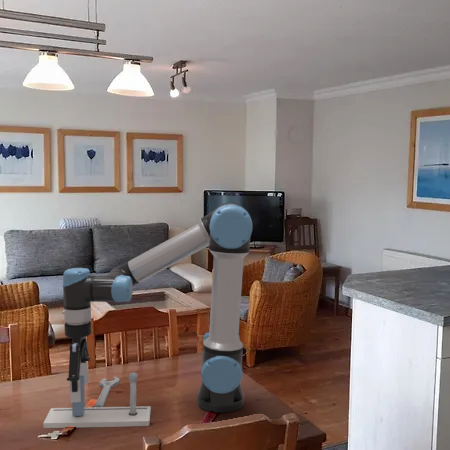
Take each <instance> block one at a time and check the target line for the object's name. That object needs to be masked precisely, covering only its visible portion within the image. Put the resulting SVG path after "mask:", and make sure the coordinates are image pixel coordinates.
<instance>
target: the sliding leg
mask: <svg viewBox="0 0 450 450" xmlns="http://www.w3.org/2000/svg"><path fill="white" fill-rule="evenodd" d="M79 379H80V391H81V402H71V406H72V407H71V408H72V416H83V414H84V411H85V408H86V407H85V402H86V401H85V384H84V376H79Z"/></svg>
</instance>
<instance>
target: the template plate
mask: <svg viewBox="0 0 450 450" xmlns="http://www.w3.org/2000/svg"><path fill="white" fill-rule="evenodd" d="M138 378H139V376H138V373H137V372H133V371H132V372H130V373H129V375H128V381H129V393H130V394H129V406H104V407H90V406H89V407H87V406H86V407H85V411H84V414H83V416H72V407H51V408H50V410H49V411H48V413H47V416H46V418H45V419H44V421H43V423H42V424H43V425H42V426H43V427H42V428H43V429H63V428H64V429H66V428H65V427H68V426H69V427H70V426H74V427H76V428H115V427H116V428H117V427H118V428H119V427H150V422H151V412H152V410H151V409H152V408H151V407H152V406H151V405H149V406H146V405H145V406H141V405H140V406H137V381H138Z"/></svg>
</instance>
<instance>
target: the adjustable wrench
mask: <svg viewBox="0 0 450 450" xmlns="http://www.w3.org/2000/svg"><path fill="white" fill-rule="evenodd" d="M119 384H120V378H119V377H117V376H113V379H112V380H107V378H106V377H103V378H102V379H101V380H100V381H99V382H98V386H99V387H101V388H102V390H101V392H100V393H99V395H98V398H97V400H96V401H95V404H94V407H105V405H106V402H107V400H108V397H109V394H110V392H111V390H112V389H113V388H114V387H116V386H118V385H119Z"/></svg>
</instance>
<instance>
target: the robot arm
mask: <svg viewBox="0 0 450 450" xmlns="http://www.w3.org/2000/svg"><path fill="white" fill-rule="evenodd" d="M253 228H254V226H253V221H252V218H251V215H250V213H249V212H248V210H246V208H244V207H243V206H242V205H241V204H239V203H236V202H224V203H222V204H219V205H218V207H216V208H215V209H214V210H212V211H211V212H210V213H208V214H206V215H205V216H203V217H201V218H200V219H199V221H198V223H197V224H195V225H193V226H191V227H189V228H187V229H186V230H184V231H182V232H180V233H178V234H177V235H174V236H172V237H170V239H167V240H165V241H164V242H162V243H159V244H158V245H157V246H154V247H152V248H151V249H149V250H147V251H145V252H143V253H141V254H139V255H138V256H136V257H133V258H131V259H130V260H129V261H127V262H125V263H122V264H121V265H118V266H115V267H114V268H112V269H111V270H110V271H109V273H107V275H92V274H91V271H90V269H89V268H87V267H85V268H84V267H72V268H68V269H66V270H65V271H64V272H63V277H62V278H63V279H62V280H63V281H62V283H63V284H62V290H63V307H64V308H63V310H62V312H61V313H62V314H63V315H64V322H65V323H64V335H65V337H66V338H70V339H72V341H71V342H70V344H69V358H68V359H69V361H68V376H67V378H66V381H67V382H68V381H69V392H70V393H69V394H70V396H69V398H70V403H72V402H81V391H80V379H79V376H84V385H86V384H89V363H88V362H91V357H90V354H89V348H88V341H87V340H88V339H87V337H89V336H90V335H91V334H92V322H91V320H92V306H91V305H92V304H91V302H92V303H95V302H97V303H101V302H102V303H106V302H107V303H122V302H130V301H131V300H132V295H133V287H135V286H137V285H138V284H140V283H141V282H144V281H145V280H147V279H149V278H151V277H153V276H154V275H156V274H159V273H160V272H162V271H164V270H166V269H168V268H170V267H172V266H173V265H175V264H177V263H179V262H181V261H182V260H184V259H186V258H188V257H190V256H192V255H194V254H196V253H198V252H200V251H202V250H204V249H205V248H207V247H208V250H209V252H210V253H211V255H212V256H213V266H212V267H213V268H212V277H211V278H212V279H211V280H212V281H211V298H210V312H209V313H210V317H209V327H208V328H209V330H208V331H207V332H205V334H204V335H203V340H202V343H203V345H202V346H203V347H202V357H201V358H202V361H201V368H200V377H201V380H202V381H201V383H200V386H199V388H198V391H197V395H196V404H197V406H198V407H199V408H200V409H203V410H205V411H207V412H211V411H213V412H212V413H221V414H222V413H231V412H235V411H237V410H240V409H241V408H243V406H244V405H245V395H244V391H243V389H242V385H241V381H242V379H243V373H244V372H243V351H244V350H243V349H244V343H243V342H242V341H241V337H240V335H239V333H240V317H241V303H242V301H241V300H242V289H243V286H242V285H243V273H244V272H243V271H244V258H246V256H247V255H249V254H250V249H251V248H250V246H251V236H252V232H253Z"/></svg>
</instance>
